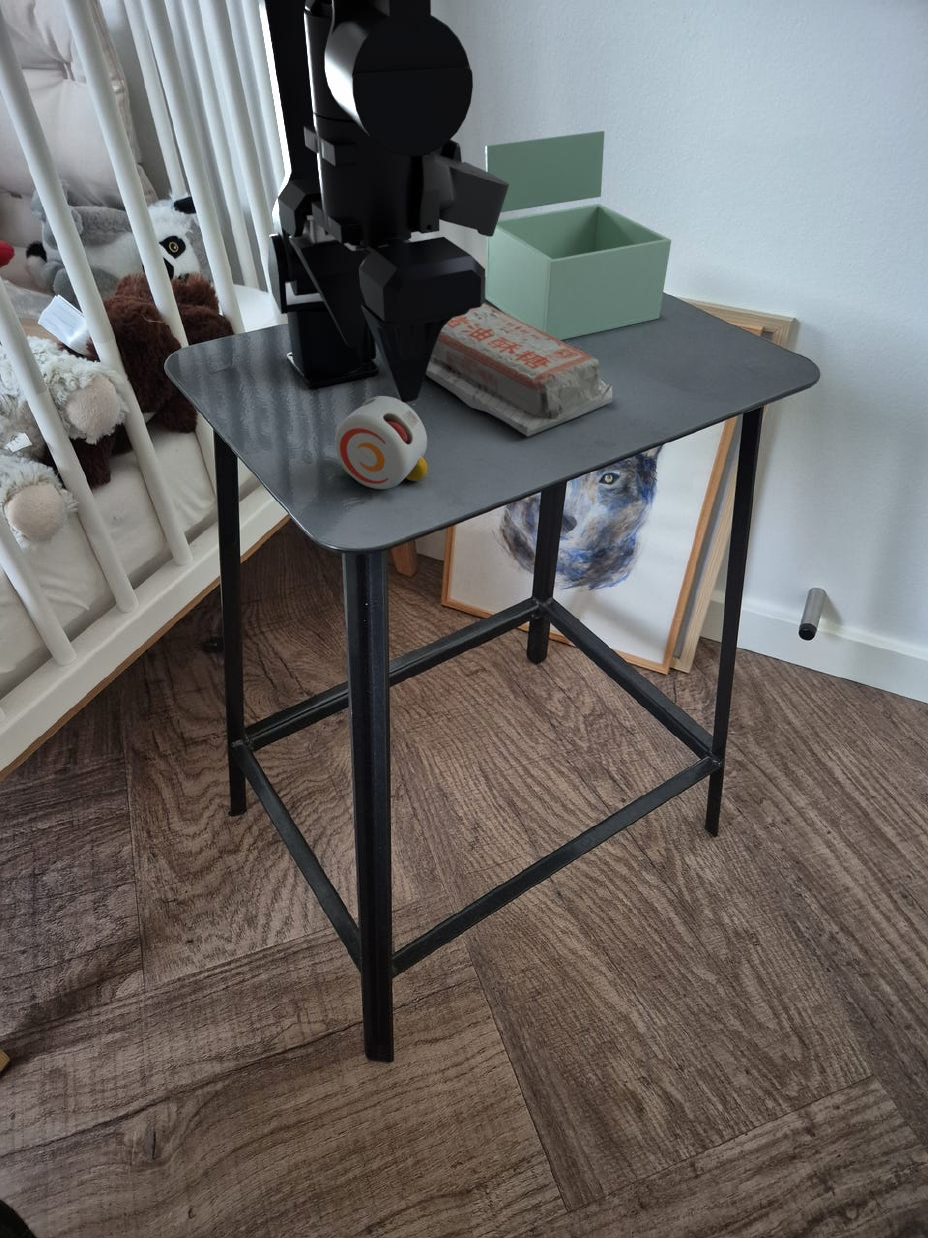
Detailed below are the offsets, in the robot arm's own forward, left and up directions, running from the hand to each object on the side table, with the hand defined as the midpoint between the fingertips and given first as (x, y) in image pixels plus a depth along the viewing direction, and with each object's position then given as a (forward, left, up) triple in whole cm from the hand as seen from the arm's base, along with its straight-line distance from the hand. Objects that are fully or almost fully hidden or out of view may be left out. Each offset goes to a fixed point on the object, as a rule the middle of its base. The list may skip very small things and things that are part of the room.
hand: (380, 371), depth 60 cm
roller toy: (0, 0, -8) cm, 8 cm away
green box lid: (+29, +26, +3) cm, 39 cm away
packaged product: (+15, +9, -8) cm, 19 cm away
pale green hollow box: (+29, +20, -8) cm, 36 cm away
